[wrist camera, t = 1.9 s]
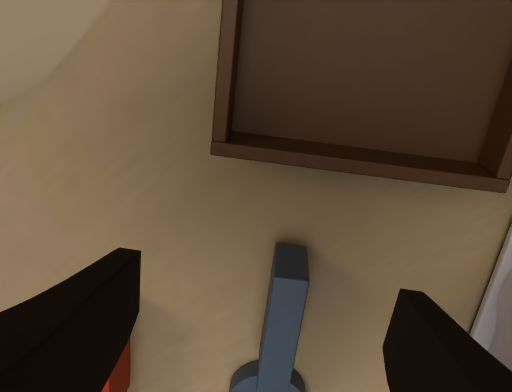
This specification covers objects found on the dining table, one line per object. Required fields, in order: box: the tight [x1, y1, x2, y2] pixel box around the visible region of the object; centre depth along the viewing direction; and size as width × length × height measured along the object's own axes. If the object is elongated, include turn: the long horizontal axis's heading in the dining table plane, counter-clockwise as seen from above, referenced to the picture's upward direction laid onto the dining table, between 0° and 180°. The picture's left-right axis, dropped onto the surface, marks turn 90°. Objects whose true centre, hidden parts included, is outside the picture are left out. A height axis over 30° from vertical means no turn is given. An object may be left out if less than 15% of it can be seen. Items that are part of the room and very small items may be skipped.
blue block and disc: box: [229, 243, 309, 392], centre depth 24 cm, size 12×4×3 cm, turn 173°
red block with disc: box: [102, 337, 130, 392], centre depth 25 cm, size 12×4×3 cm, turn 173°
